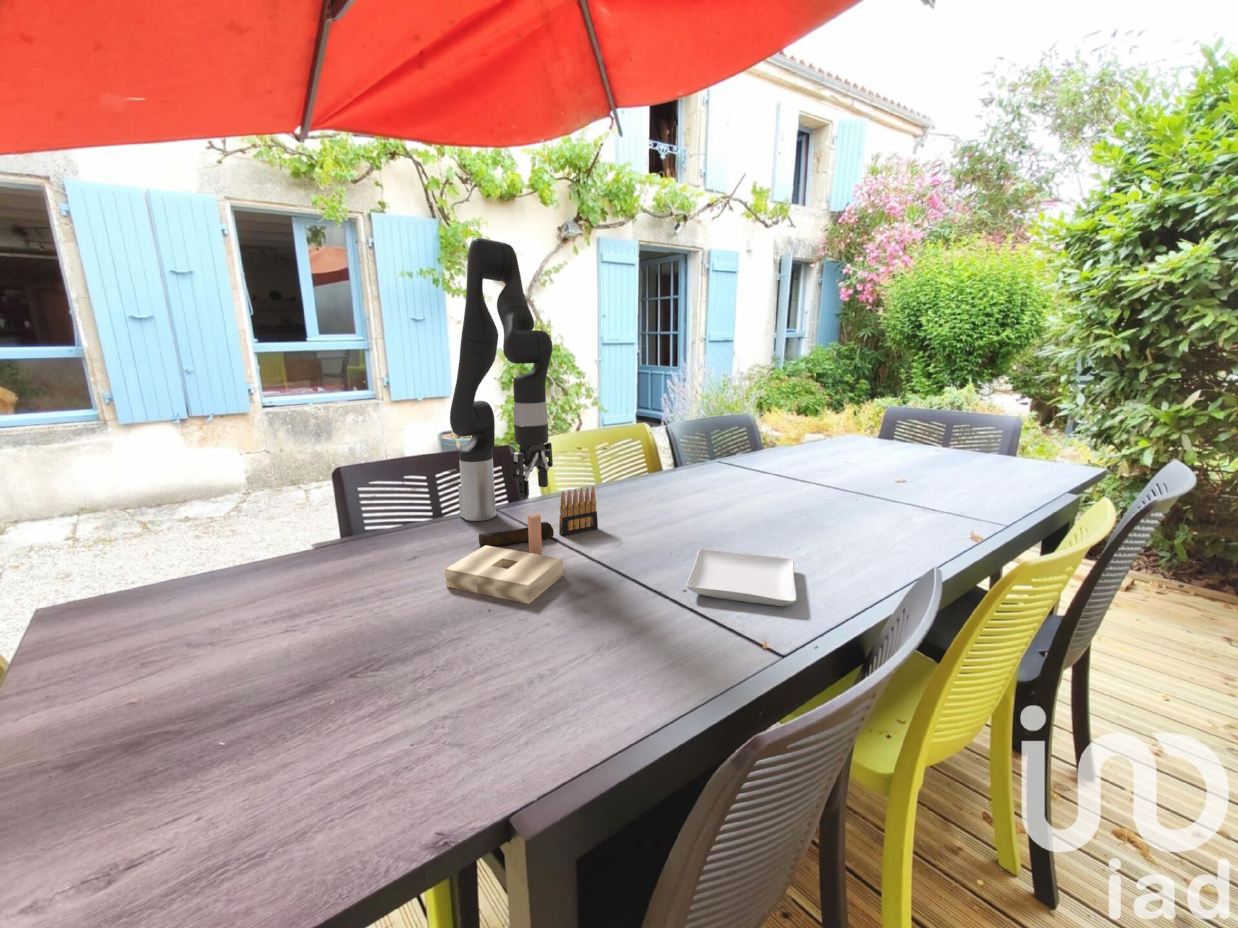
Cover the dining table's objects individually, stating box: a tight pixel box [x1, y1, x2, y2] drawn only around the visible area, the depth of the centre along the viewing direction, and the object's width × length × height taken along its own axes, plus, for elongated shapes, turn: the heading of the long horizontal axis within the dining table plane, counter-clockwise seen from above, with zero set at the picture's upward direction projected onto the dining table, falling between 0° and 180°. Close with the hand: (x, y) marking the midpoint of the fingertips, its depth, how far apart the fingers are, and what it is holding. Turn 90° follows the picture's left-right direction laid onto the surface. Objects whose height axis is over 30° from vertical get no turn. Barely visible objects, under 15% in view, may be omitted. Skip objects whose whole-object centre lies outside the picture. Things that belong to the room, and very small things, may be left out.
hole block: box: [444, 545, 564, 605], centre depth 116 cm, size 20×14×4 cm
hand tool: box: [478, 521, 555, 549], centre depth 138 cm, size 19×4×5 cm, turn 112°
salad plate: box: [685, 548, 798, 607], centre depth 115 cm, size 21×21×3 cm
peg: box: [527, 513, 543, 555], centre depth 129 cm, size 3×3×10 cm
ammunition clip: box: [558, 485, 599, 537], centre depth 145 cm, size 11×2×12 cm, turn 121°
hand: (533, 491), depth 126 cm, fingers open, 8 cm apart
